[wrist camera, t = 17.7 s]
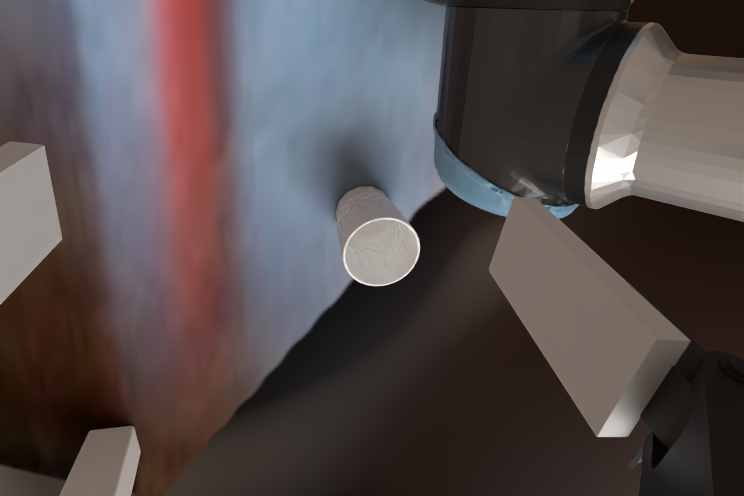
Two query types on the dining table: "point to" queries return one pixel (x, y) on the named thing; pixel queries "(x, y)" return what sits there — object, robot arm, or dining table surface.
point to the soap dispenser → (105, 464)
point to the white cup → (375, 237)
